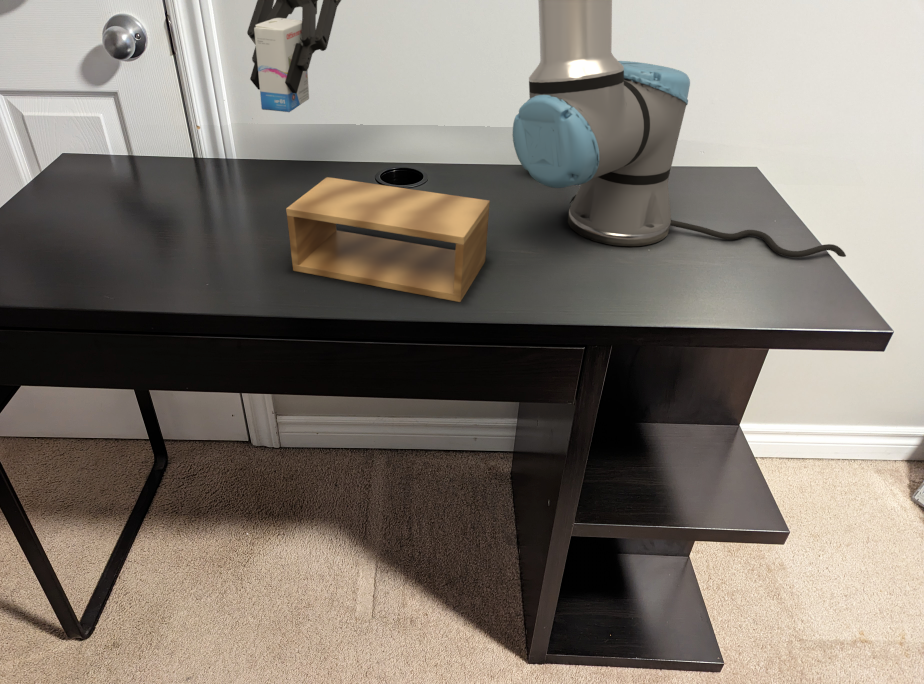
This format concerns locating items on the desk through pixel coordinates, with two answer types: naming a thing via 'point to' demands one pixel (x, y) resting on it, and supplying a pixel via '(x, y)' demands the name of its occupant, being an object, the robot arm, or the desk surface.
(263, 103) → the ink box
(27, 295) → the desk surface
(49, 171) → the desk surface
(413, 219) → the oak stand
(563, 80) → the robot arm
